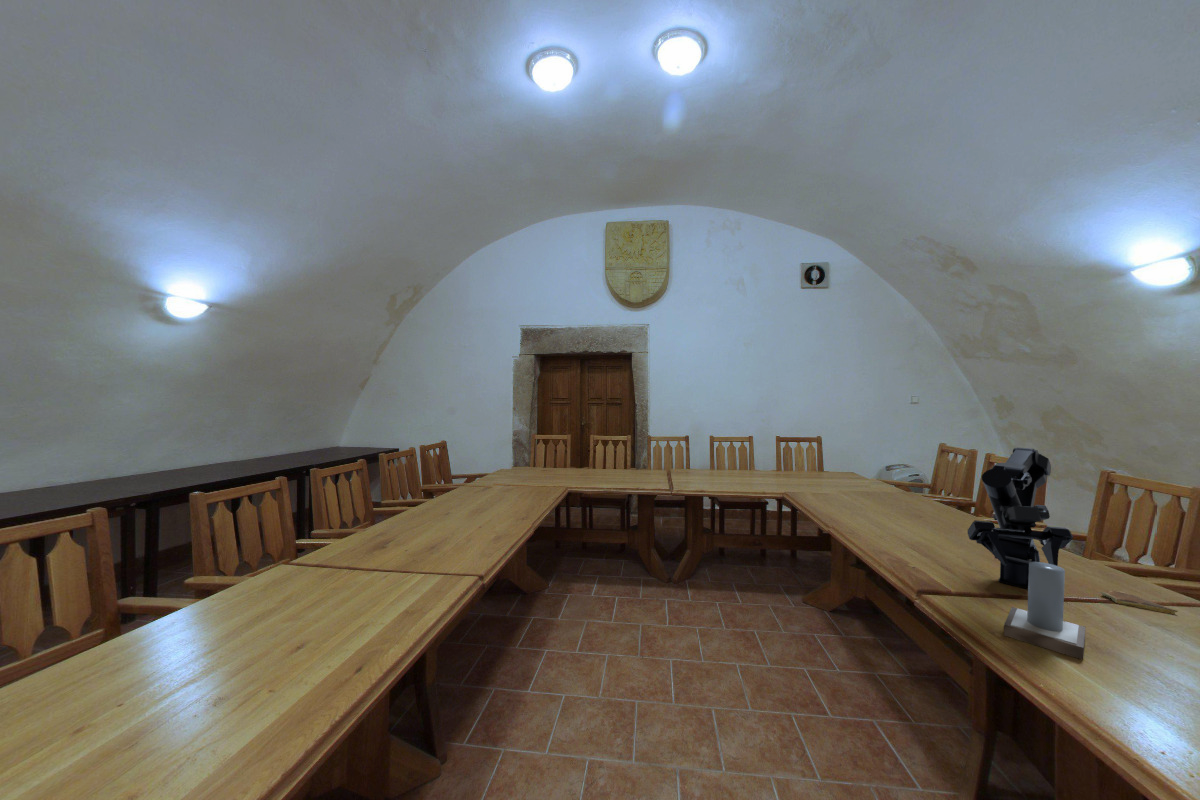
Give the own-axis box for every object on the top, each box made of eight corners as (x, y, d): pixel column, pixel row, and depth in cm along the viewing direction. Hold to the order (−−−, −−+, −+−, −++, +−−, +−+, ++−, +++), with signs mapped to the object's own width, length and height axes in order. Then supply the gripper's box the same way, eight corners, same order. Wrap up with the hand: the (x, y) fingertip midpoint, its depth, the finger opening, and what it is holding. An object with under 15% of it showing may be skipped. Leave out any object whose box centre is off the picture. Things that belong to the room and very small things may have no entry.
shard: (1178, 617, 109) (1178, 609, 109) (1150, 618, 108) (1150, 611, 108) (1122, 596, 120) (1122, 589, 120) (1096, 597, 119) (1097, 590, 119)
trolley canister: (1025, 624, 100) (1027, 566, 99) (1028, 615, 103) (1030, 559, 103) (1061, 634, 95) (1064, 574, 95) (1063, 625, 99) (1065, 567, 99)
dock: (1003, 635, 100) (1004, 623, 100) (1011, 617, 108) (1011, 606, 108) (1083, 659, 91) (1083, 646, 91) (1085, 638, 99) (1085, 626, 99)
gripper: (973, 488, 113) (993, 546, 103) (1069, 494, 107) (1100, 557, 97) (959, 511, 121) (977, 567, 111) (1048, 518, 114) (1075, 578, 104)
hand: (1030, 567), depth 105 cm, fingers open, 9 cm apart
